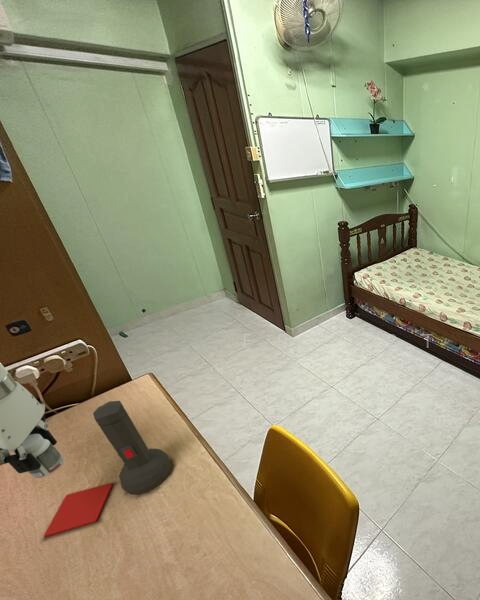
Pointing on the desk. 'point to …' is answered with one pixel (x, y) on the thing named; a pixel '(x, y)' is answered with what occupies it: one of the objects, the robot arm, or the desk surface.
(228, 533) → the desk surface
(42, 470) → the pill bottle
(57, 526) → the red pad
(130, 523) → the desk surface
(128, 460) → the flashlight
